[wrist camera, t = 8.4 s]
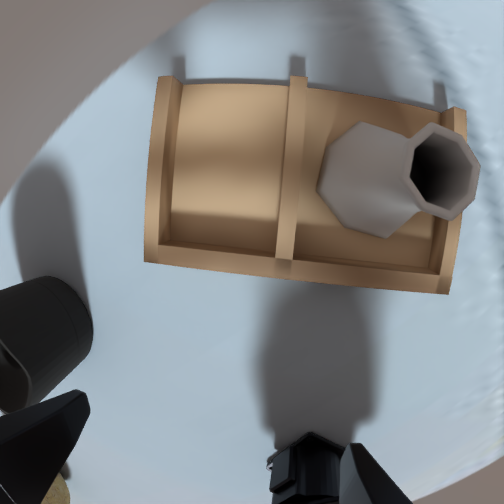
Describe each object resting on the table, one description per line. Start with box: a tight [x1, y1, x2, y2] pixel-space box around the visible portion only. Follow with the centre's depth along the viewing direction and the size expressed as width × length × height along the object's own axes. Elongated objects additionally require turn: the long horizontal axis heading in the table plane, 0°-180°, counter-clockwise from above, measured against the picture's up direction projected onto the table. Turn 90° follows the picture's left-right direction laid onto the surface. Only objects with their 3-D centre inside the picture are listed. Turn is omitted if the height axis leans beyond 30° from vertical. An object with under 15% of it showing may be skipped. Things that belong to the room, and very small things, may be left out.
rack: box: [144, 76, 467, 295], centre depth 18 cm, size 12×20×3 cm, turn 85°
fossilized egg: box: [41, 473, 70, 504], centre depth 25 cm, size 13×13×15 cm
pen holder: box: [0, 276, 92, 414], centre depth 20 cm, size 9×9×10 cm
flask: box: [316, 121, 481, 239], centre depth 13 cm, size 7×7×10 cm
